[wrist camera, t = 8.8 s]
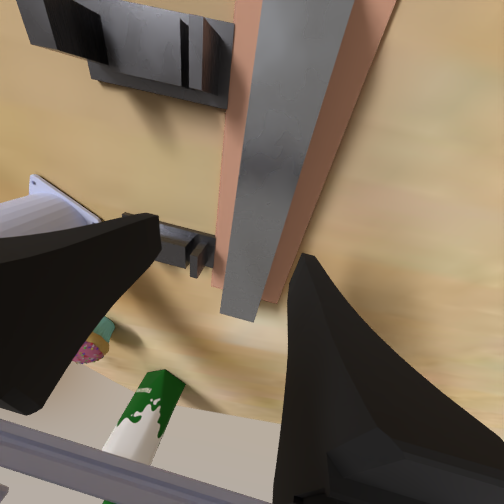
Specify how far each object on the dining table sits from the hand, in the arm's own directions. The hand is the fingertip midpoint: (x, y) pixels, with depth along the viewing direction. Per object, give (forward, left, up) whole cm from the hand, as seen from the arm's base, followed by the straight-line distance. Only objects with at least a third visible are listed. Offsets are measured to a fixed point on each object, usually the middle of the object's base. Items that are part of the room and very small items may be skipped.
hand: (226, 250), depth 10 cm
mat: (0, -1, -10) cm, 10 cm away
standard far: (-11, +3, -10) cm, 16 cm away
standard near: (+2, +11, -10) cm, 15 cm away
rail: (0, -1, -10) cm, 10 cm away
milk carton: (-49, -14, -11) cm, 52 cm away
